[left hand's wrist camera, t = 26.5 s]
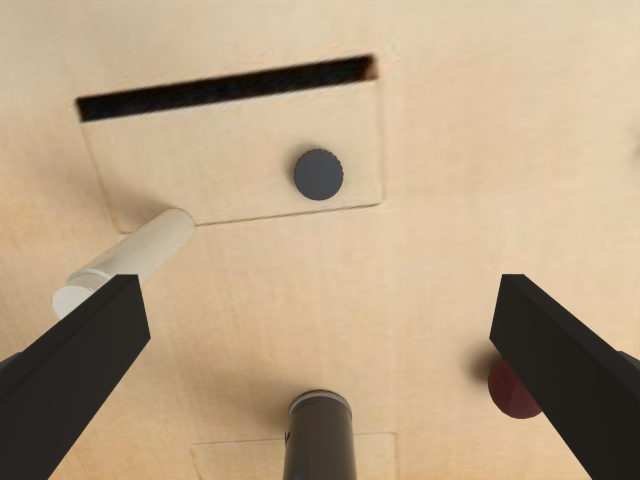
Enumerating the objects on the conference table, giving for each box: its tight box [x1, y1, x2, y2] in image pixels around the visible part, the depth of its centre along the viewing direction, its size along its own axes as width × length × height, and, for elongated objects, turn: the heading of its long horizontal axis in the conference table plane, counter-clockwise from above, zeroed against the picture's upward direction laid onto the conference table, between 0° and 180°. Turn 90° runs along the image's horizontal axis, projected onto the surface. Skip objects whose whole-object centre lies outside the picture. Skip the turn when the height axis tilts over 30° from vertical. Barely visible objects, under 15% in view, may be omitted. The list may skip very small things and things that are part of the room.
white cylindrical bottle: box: [52, 208, 195, 320], centre depth 34 cm, size 4×4×18 cm
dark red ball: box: [488, 359, 542, 419], centre depth 46 cm, size 7×8×7 cm
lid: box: [294, 149, 344, 200], centre depth 39 cm, size 5×5×2 cm
